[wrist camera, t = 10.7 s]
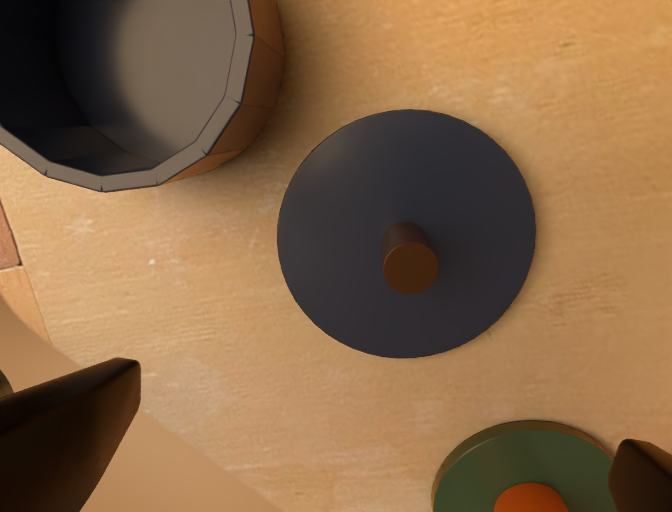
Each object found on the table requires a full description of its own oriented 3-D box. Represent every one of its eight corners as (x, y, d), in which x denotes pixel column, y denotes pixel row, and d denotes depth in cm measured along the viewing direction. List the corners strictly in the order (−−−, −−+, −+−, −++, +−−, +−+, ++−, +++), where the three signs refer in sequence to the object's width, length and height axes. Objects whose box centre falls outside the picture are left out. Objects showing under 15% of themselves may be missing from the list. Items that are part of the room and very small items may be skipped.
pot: (201, 218, 21) (145, 249, 16) (11, 76, 20) (-119, 59, 15) (333, 26, 18) (319, -14, 13) (122, -152, 17) (12, -274, 12)
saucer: (526, 597, 26) (531, 611, 25) (393, 505, 25) (394, 517, 24) (664, 493, 23) (674, 505, 23) (523, 384, 22) (528, 393, 21)
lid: (415, 388, 23) (426, 451, 18) (235, 255, 21) (201, 289, 17) (581, 219, 20) (643, 246, 15) (385, 52, 18) (390, 30, 14)
